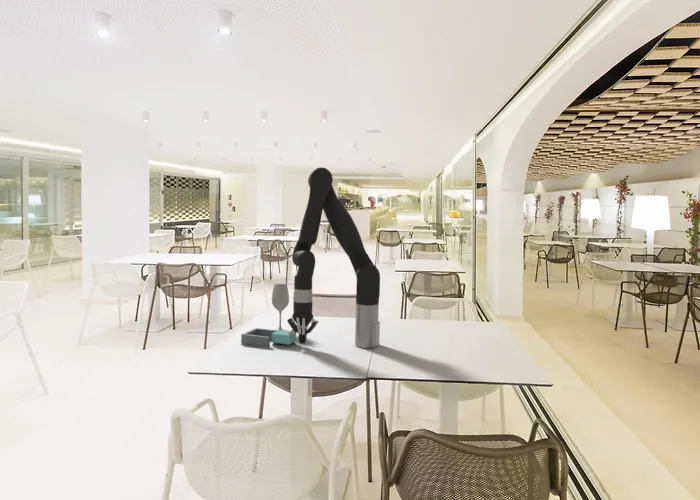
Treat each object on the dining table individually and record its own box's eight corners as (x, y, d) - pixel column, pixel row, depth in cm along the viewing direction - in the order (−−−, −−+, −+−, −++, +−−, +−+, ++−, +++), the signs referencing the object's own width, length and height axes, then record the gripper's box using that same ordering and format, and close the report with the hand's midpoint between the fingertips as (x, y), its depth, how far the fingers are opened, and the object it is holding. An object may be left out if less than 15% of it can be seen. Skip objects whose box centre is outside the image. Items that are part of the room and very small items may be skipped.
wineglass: (290, 330, 219) (290, 284, 217) (286, 334, 211) (286, 286, 209) (274, 329, 219) (274, 283, 218) (269, 333, 212) (269, 286, 210)
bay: (281, 340, 202) (281, 330, 201) (268, 347, 191) (268, 337, 190) (255, 337, 206) (256, 328, 205) (241, 344, 195) (241, 334, 194)
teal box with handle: (296, 344, 196) (296, 328, 196) (289, 348, 191) (289, 331, 190) (278, 342, 199) (278, 326, 198) (271, 345, 193) (271, 330, 193)
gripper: (322, 299, 192) (321, 342, 193) (291, 297, 196) (291, 339, 198) (314, 303, 185) (314, 347, 186) (283, 300, 189) (283, 343, 190)
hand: (302, 343), depth 192 cm, fingers closed
